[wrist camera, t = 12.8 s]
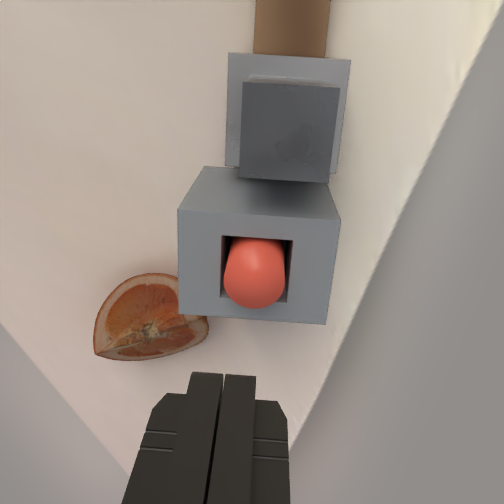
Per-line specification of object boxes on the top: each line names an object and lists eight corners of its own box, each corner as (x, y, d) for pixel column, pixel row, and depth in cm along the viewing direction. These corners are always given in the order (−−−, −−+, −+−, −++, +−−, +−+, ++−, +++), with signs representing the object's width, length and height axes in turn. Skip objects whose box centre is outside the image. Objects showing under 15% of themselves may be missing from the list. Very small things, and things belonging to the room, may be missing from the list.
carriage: (230, 153, 29) (211, 196, 20) (234, 52, 27) (214, 53, 18) (329, 159, 29) (351, 206, 20) (342, 58, 27) (374, 62, 18)
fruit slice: (195, 249, 33) (182, 281, 28) (230, 322, 35) (223, 363, 31) (96, 283, 34) (69, 318, 30) (136, 351, 37) (116, 393, 32)
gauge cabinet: (203, 247, 33) (178, 313, 24) (204, 166, 30) (177, 209, 22) (313, 255, 32) (325, 324, 24) (323, 174, 30) (340, 220, 22)
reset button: (234, 249, 29) (222, 306, 22) (236, 205, 28) (224, 252, 21) (280, 253, 29) (282, 310, 22) (284, 209, 28) (287, 256, 21)
